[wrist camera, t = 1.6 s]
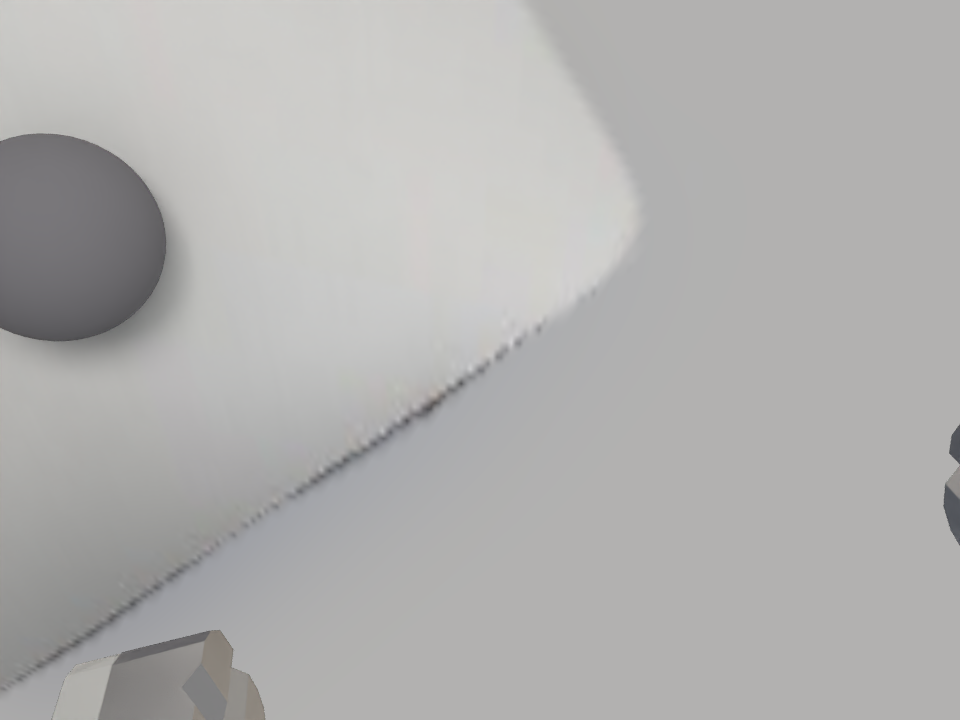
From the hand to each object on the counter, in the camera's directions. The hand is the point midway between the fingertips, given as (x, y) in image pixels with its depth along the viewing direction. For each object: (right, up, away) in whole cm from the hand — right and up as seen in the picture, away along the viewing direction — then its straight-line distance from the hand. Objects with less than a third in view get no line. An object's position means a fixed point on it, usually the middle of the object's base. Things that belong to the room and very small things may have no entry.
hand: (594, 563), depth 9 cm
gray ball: (-12, +5, +11) cm, 17 cm away
